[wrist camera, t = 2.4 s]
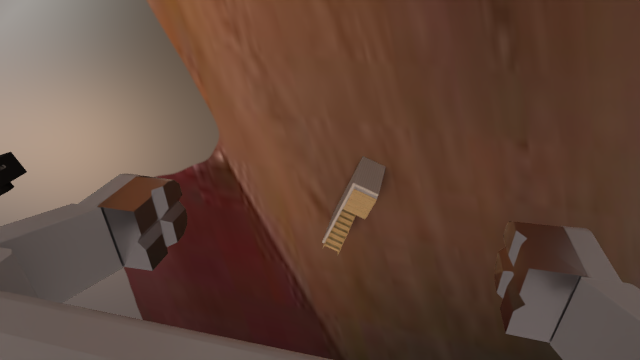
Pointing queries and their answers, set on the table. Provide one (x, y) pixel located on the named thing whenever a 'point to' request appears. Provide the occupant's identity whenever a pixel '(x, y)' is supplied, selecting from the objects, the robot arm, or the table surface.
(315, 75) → the table surface
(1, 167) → the digital camera
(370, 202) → the model
